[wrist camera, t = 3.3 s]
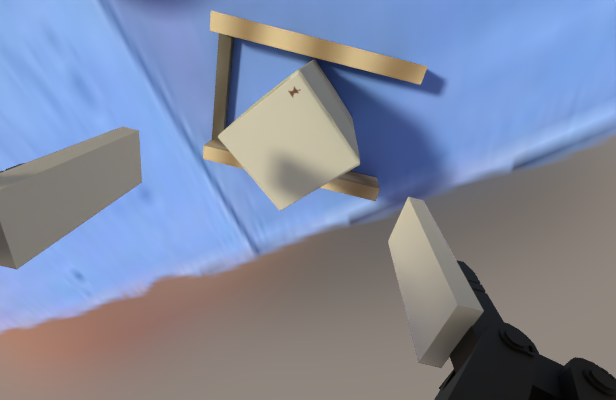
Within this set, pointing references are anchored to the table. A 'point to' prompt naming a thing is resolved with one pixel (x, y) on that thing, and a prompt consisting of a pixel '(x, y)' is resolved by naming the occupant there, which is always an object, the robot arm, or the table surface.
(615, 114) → the table surface
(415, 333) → the robot arm
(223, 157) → the open u-shaped frame
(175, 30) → the table surface
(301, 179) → the supplement box
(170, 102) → the table surface
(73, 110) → the table surface
